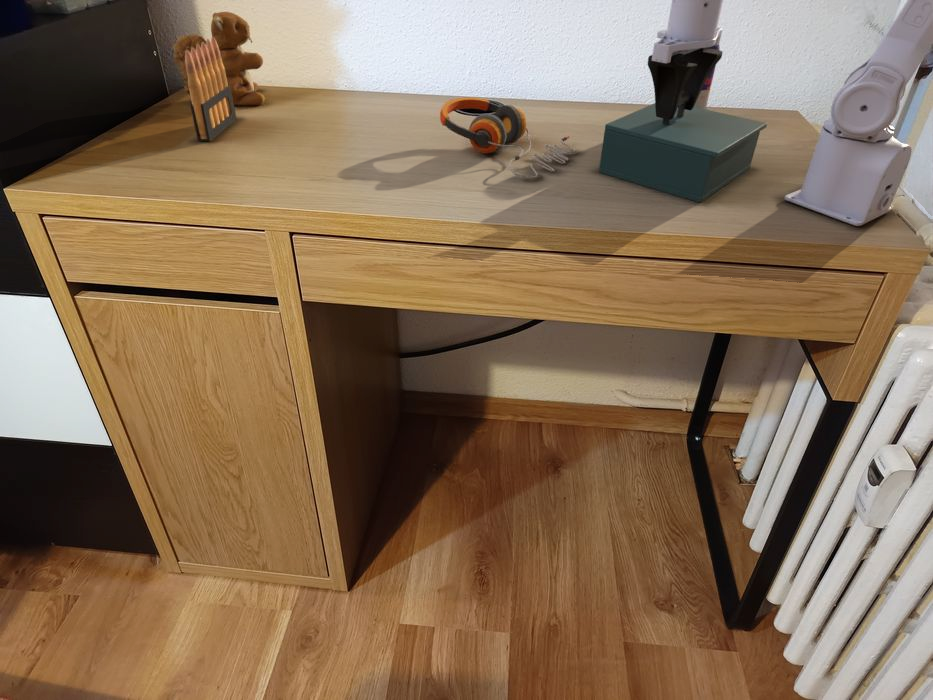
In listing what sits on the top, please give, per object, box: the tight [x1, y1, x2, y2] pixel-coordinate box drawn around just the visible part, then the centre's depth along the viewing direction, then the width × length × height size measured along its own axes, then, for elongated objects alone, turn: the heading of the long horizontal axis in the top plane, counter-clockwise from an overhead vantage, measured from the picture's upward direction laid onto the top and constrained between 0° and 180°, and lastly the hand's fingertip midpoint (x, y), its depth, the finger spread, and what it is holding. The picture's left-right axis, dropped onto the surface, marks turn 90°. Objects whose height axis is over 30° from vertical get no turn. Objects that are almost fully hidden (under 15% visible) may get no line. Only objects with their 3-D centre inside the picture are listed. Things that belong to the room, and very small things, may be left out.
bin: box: [598, 128, 761, 203], centre depth 86 cm, size 14×15×6 cm
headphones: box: [439, 96, 576, 179], centre depth 92 cm, size 17×5×20 cm
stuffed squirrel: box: [172, 11, 266, 106], centre depth 107 cm, size 10×14×13 cm
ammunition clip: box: [185, 35, 237, 142], centre depth 95 cm, size 11×2×12 cm, turn 175°
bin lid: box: [604, 91, 768, 158], centre depth 83 cm, size 15×15×4 cm
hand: (674, 113), depth 85 cm, fingers closed on bin lid, 5 cm apart
